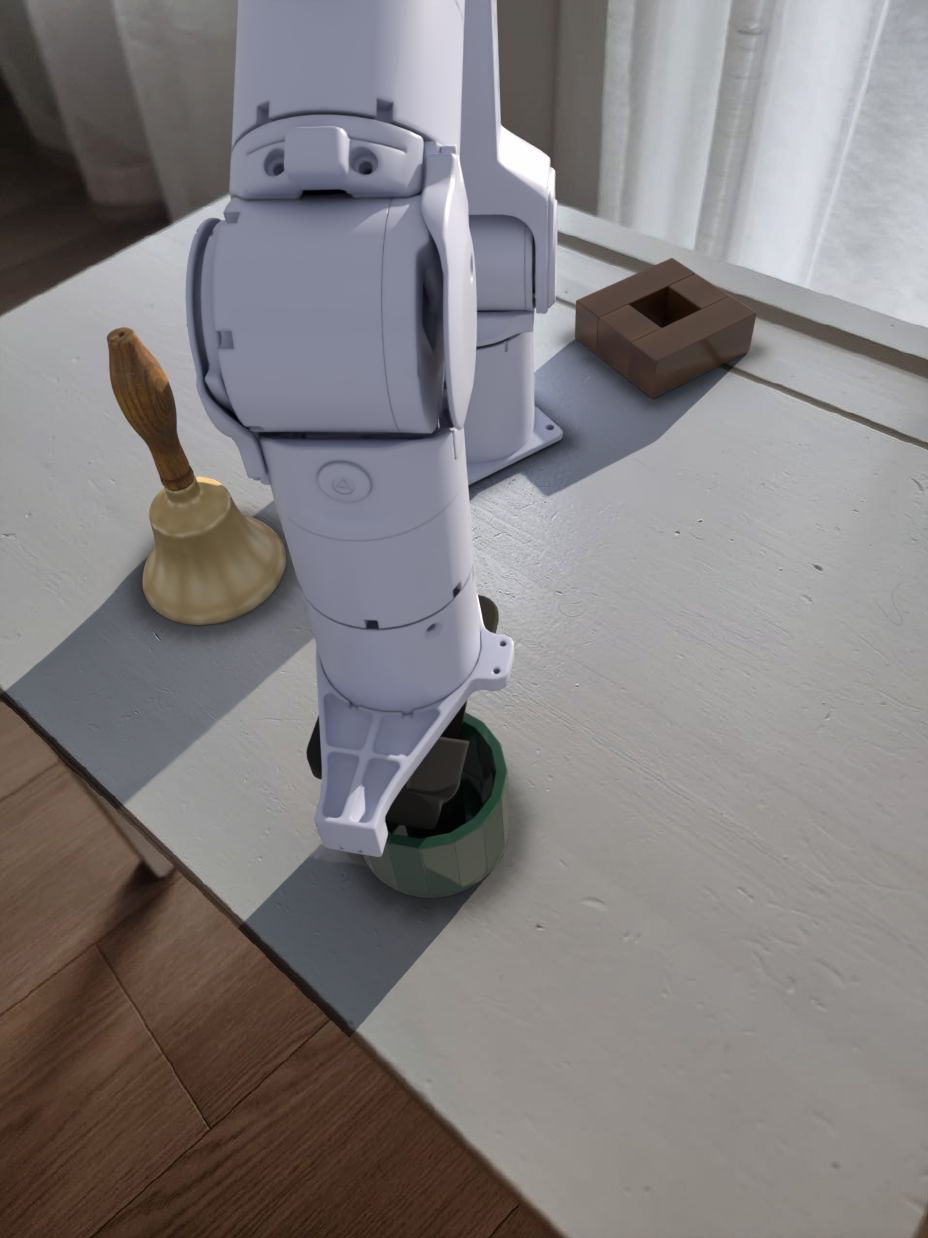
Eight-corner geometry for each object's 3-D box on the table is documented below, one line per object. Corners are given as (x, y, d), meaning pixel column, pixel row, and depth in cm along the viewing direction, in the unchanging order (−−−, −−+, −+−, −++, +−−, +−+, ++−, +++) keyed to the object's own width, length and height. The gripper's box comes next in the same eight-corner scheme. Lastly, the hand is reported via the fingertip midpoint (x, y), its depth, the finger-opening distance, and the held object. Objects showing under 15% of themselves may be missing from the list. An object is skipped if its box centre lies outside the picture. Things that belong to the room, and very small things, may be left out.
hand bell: (139, 637, 55) (21, 406, 42) (146, 530, 60) (43, 296, 47) (290, 613, 55) (217, 377, 43) (283, 509, 60) (217, 272, 48)
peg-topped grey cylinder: (394, 815, 46) (369, 714, 40) (445, 785, 47) (429, 681, 40) (425, 861, 45) (405, 764, 38) (477, 829, 46) (466, 728, 39)
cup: (332, 809, 47) (313, 755, 43) (456, 737, 49) (449, 678, 45) (408, 928, 43) (394, 880, 39) (539, 844, 45) (538, 790, 42)
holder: (574, 337, 69) (575, 300, 67) (667, 294, 72) (672, 256, 69) (652, 399, 65) (656, 361, 62) (749, 351, 67) (757, 312, 65)
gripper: (459, 774, 27) (482, 957, 37) (544, 425, 36) (544, 652, 46) (216, 736, 28) (304, 923, 39) (356, 408, 37) (397, 633, 48)
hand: (424, 774), depth 43 cm, fingers open, 4 cm apart
